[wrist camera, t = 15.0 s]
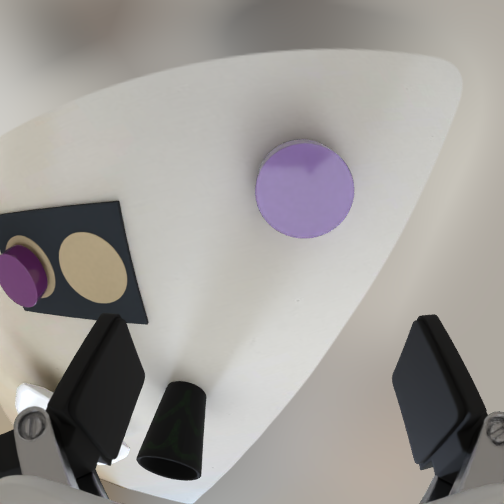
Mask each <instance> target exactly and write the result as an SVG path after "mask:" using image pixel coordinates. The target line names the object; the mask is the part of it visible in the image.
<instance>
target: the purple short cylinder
mask: <svg viewBox="0 0 504 504" xmlns="http://www.w3.org/2000/svg"><path fill="white" fill-rule="evenodd" d="M0 285H1V287H2V288H3V290H4V291H5V293H6V294H7V295H8V296H9V297H10V298H11V299H12V300H13V301H14V302H15V303H17V304H19V305H20V306H23V307H28V308H29V307H33V306H34V305H35V304H36V303H37V302H38V301H39V299H40V298H41V297H42V296H43V295H44V294H45V293H46V291H47V287H48V281H47V276H46V272H45V270H44V268H43V266H42V264H41V262H40V261H39V259H38V258H37V257H36V255H35V254H34V253H33V252H32V251H30V250H29V249H28V248H26V247H25V246H22V245H18V244H16V245H12V246H11V247H9V248H8V249H7V250H5V251H4V252H3V253H2V254H1V255H0Z"/></svg>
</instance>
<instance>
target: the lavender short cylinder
mask: <svg viewBox="0 0 504 504" xmlns="http://www.w3.org/2000/svg"><path fill="white" fill-rule="evenodd" d="M255 195H256V202H257V206H258V208H259V211H260V213H261V214H262V216H263V217H264V219H265V220H266V221H267V222H268V223H269V225H270V226H272V227H273V228H274V229H276V230H277V231H279V232H280V233H283V234H285V235H288V236H291V237H296V238H313V237H317V236H321V235H323V234H326V233H328V232H330V231H331V230H333V229H334V228H336V227H337V226H338V225H339V224H340V223H341V222H342V221H343V220H344V218H345V217H346V216H347V214H348V212H349V210H350V208H351V206H352V202H353V198H354V182H353V178H352V175H351V172H350V170H349V168H348V166H347V165H346V163H345V162H344V161H343V160H342V158H341V157H339V156H338V155H337V154H336V153H335V152H334V151H333V150H331V149H330V148H329V147H327V146H326V145H324V144H322V143H319V142H317V141H313V140H308V139H296V140H291V141H288V142H285V143H283V144H281V145H279V146H277V147H276V148H274V149H273V150H272V151H271V152H269V154H268V155H267V156H266V157H265V158H264V160H263V162H262V163H261V165H260V168H259V171H258V175H257V181H256V187H255Z"/></svg>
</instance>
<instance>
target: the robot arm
mask: <svg viewBox="0 0 504 504" xmlns="http://www.w3.org/2000/svg"><path fill="white" fill-rule="evenodd" d="M144 380H145V373H144V370H143V367H142V365H141V362H140V359H139V357H138V354H137V352H136V349H135V346H134V344H133V341H132V338H131V335H130V332H129V329H128V327H127V324H126V321H125V320H124V319H122V318H121V316H120V315H119V314H113V313H102V314H101V315H100V316H99V318H98V319H97V321H96V323H95V324H94V326H93V327H92V329H91V330H90V332H89V334H88V335H87V337H86V338H85V340H84V342H83V343H82V345H81V347H80V348H79V350H78V351H77V353H76V355H75V356H74V358H73V360H72V362H71V363H70V365H69V367H68V368H67V370H66V372H65V374H64V375H63V377H62V379H61V381H60V382H59V384H58V386H57V388H56V389H55V391H54V393H53V395H52V397H51V399H50V400H49V402H48V404H47V408H46V410H44V409H43V408H41V407H37V406H32V407H28V408H26V409H24V410H22V411H21V412H20V413H19V414H18V416H17V417H16V419H15V422H14V430H11V431H9V432H7V433H4V434H1V435H0V504H123V503H119V502H115V501H112V500H109V498H108V496H107V494H106V492H105V490H104V488H103V485H102V483H101V481H100V479H99V476H98V474H97V472H96V470H95V469H96V466H97V463H98V462H99V463H103V464H106V465H109V466H111V463H112V460H115V459H116V458H117V457H118V454H119V451H120V448H121V445H122V442H123V439H124V436H125V433H126V430H127V428H128V425H129V422H130V419H131V416H132V413H133V411H134V408H135V405H136V402H137V399H138V397H139V394H140V391H141V389H142V386H143V383H144ZM392 382H393V386H394V390H395V392H396V396H397V399H398V403H399V406H400V409H401V413H402V416H403V420H404V423H405V427H406V431H407V434H408V438H409V442H410V446H411V450H412V453H413V458H414V461H415V463H416V464H419V466H420V470H424V469H428V468H431V467H433V468H434V472H435V476H434V478H433V480H432V481H431V484H430V485H429V487H428V489H427V491H426V493H425V495H424V496H423V498H422V500H421V502H420V503H419V504H504V412H500V411H499V412H493V413H491V414H489V415H488V414H487V412H486V408H485V405H484V403H483V401H482V399H481V397H480V395H479V392H478V390H477V388H476V386H475V384H474V382H473V380H472V378H471V376H470V374H469V372H468V370H467V368H466V366H465V365H464V362H463V361H462V359H461V357H460V355H459V353H458V351H457V349H456V348H455V346H454V344H453V342H452V340H451V339H450V337H449V335H448V333H447V331H446V330H445V328H444V327H443V325H442V323H441V321H440V320H439V318H438V316H437V315H422V316H419V317H418V319H417V320H416V321H414V322H413V324H412V327H411V330H410V333H409V335H408V338H407V340H406V343H405V346H404V348H403V351H402V353H401V356H400V358H399V361H398V363H397V366H396V368H395V370H394V372H393V376H392Z"/></svg>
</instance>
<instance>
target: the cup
mask: <svg viewBox="0 0 504 504" xmlns="http://www.w3.org/2000/svg"><path fill="white" fill-rule="evenodd" d="M205 407H206V394H205V392H204V391H203V390H202V389H201V388H199V387H198V386H196V385H194V384H191V383H188V382H181V381H179V382H172V383H170V384H169V385H168V386H167V388H166V390H165V393H164V395H163V397H162V399H161V402H160V404H159V406H158V409H157V411H156V413H155V416H154V418H153V420H152V423H151V425H150V427H149V430H148V432H147V434H146V437H145V439H144V441H143V444H142V446H141V449H140V451H139V453H138V456H137V462H138V463H139V464H140V465H141V466H142V467H143V468H145V469H146V470H148V471H150V472H152V473H155V474H157V475H160V476H163V477H166V478H171V479H176V480H196V479H198V478H200V477H201V470H202V452H203V436H204V421H205Z"/></svg>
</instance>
